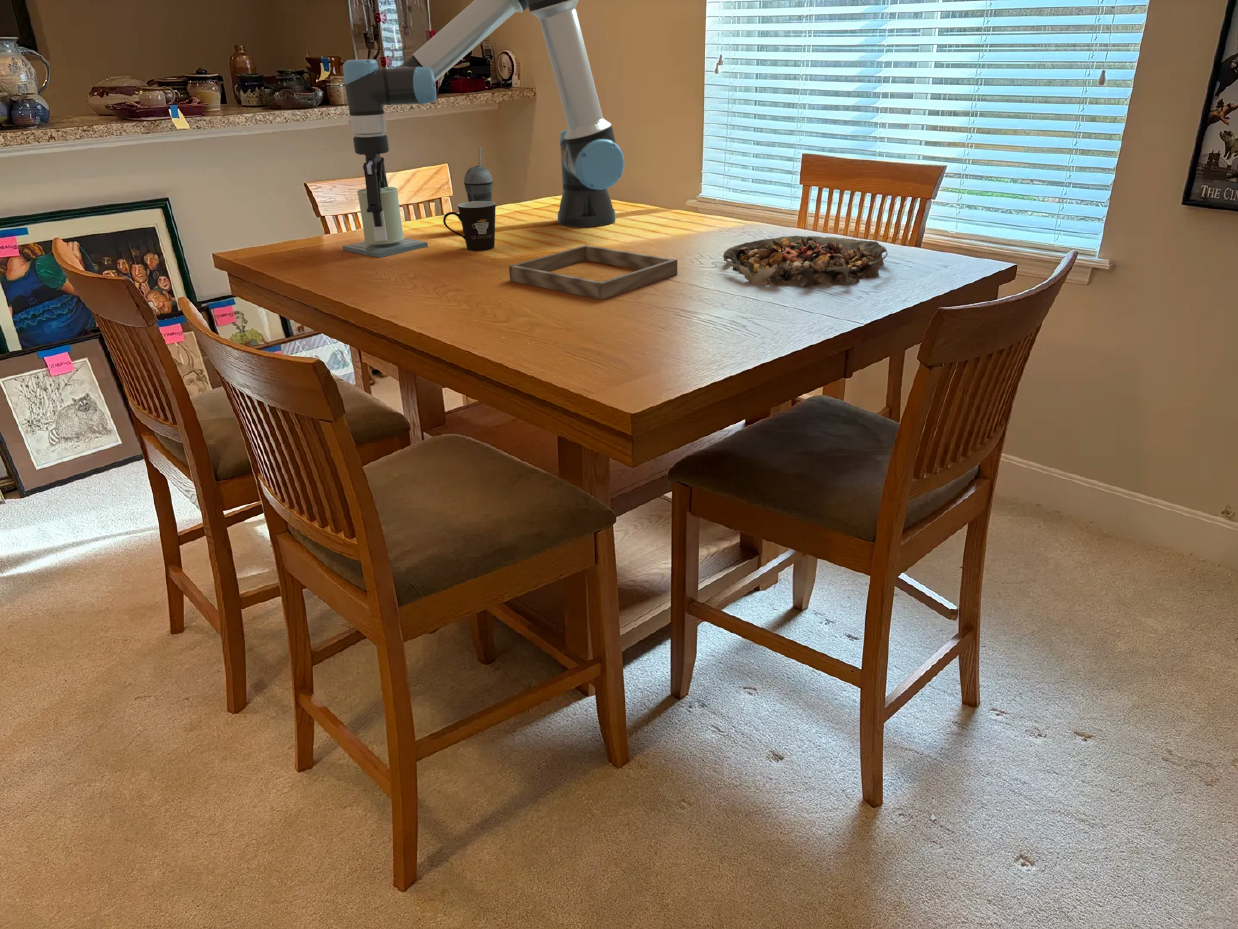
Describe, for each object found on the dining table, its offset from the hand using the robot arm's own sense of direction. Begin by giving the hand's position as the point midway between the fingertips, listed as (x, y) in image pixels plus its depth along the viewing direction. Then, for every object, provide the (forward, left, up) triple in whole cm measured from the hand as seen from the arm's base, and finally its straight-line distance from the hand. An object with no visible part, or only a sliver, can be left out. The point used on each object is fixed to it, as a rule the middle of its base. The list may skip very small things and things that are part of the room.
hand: (384, 236), depth 212 cm
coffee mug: (-18, -12, -3) cm, 22 cm away
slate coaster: (0, 0, -3) cm, 3 cm away
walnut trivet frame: (-60, -7, -3) cm, 60 cm away
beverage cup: (-3, -28, -3) cm, 28 cm away
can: (0, 0, -1) cm, 1 cm away
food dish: (-91, -38, -3) cm, 99 cm away
